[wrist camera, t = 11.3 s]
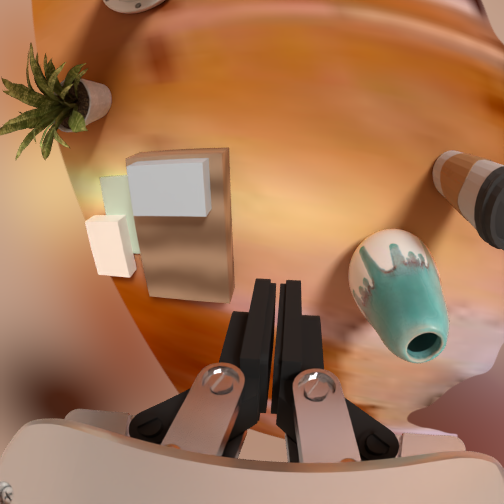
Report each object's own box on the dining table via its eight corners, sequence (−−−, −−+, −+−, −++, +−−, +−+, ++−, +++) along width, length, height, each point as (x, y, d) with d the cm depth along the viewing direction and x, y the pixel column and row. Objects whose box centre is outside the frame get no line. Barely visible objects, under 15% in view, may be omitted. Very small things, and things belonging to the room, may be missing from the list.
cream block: (117, 221, 38) (125, 214, 41) (84, 221, 39) (93, 215, 41) (129, 277, 43) (136, 269, 45) (98, 274, 43) (105, 266, 45)
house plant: (167, 69, 31) (89, 58, 17) (128, 164, 37) (49, 206, 23) (87, 42, 29) (0, 36, 15) (57, 129, 35) (-25, 156, 21)
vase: (327, 271, 41) (342, 371, 26) (374, 202, 36) (427, 280, 20) (388, 302, 43) (420, 396, 27) (434, 243, 37) (494, 325, 22)
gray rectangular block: (142, 208, 36) (133, 216, 34) (136, 161, 33) (126, 166, 31) (211, 208, 35) (206, 216, 33) (208, 157, 32) (202, 162, 30)
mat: (101, 177, 39) (99, 177, 38) (142, 174, 38) (141, 174, 37) (115, 251, 44) (114, 252, 44) (154, 253, 43) (153, 254, 43)
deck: (140, 152, 36) (125, 158, 33) (228, 147, 35) (221, 153, 32) (159, 281, 46) (149, 296, 42) (234, 286, 44) (229, 303, 41)
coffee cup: (456, 212, 35) (515, 267, 21) (413, 184, 34) (471, 234, 21) (482, 162, 31) (552, 200, 17) (440, 130, 30) (512, 154, 17)
